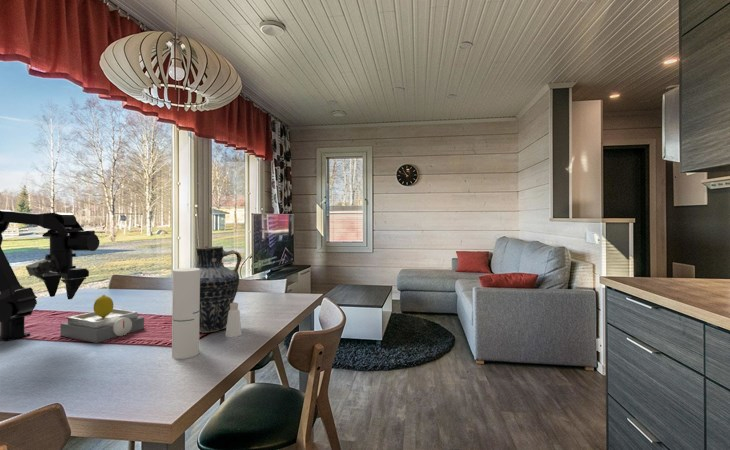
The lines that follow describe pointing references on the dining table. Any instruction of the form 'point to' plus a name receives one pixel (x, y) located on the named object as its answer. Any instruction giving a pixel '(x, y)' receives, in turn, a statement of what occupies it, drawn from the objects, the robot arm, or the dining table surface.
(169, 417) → the dining table surface
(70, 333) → the scale
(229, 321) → the pepper shaker
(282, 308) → the dining table surface
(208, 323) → the jug
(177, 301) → the cylindrical container
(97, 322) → the pan
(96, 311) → the lemon
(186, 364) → the dining table surface
